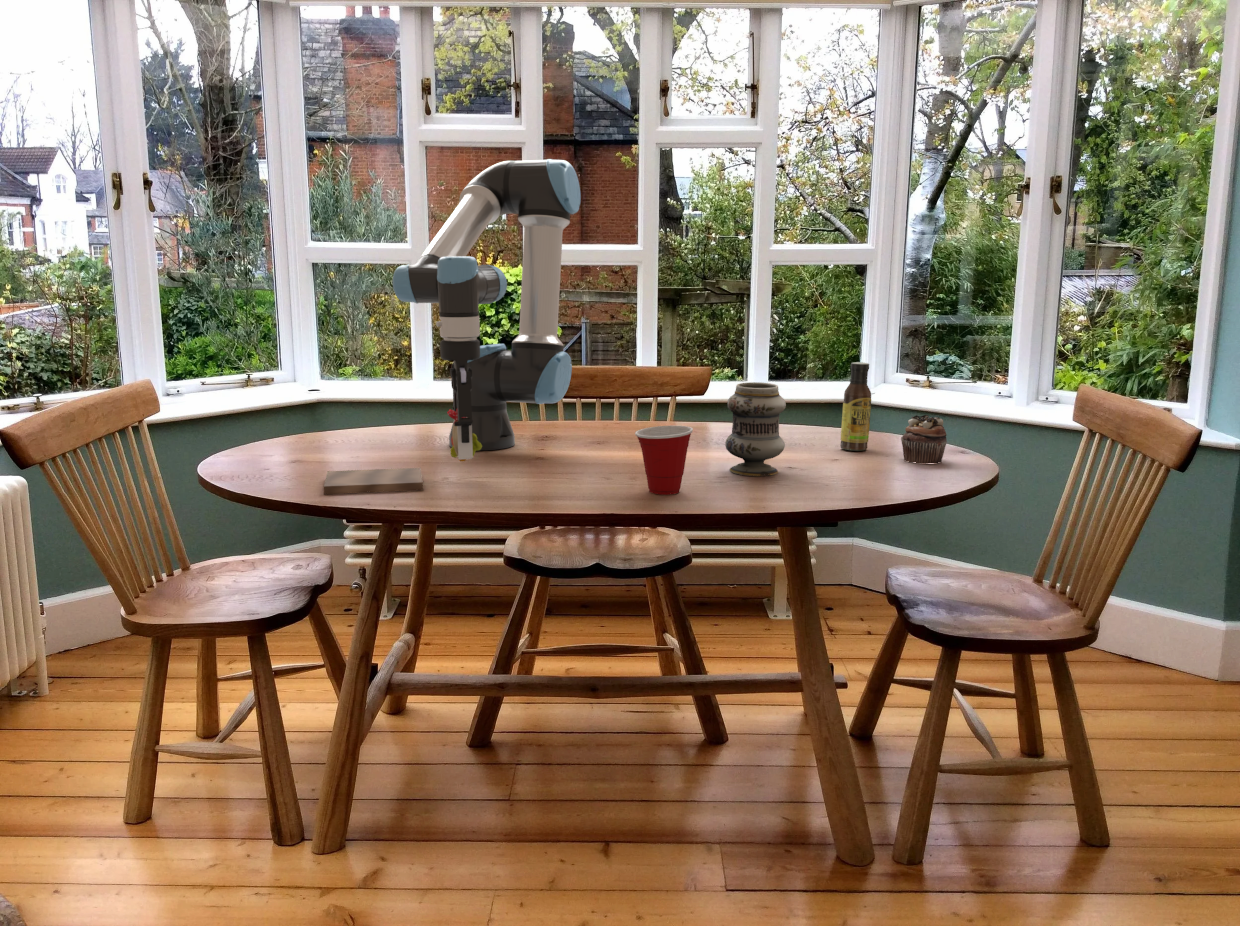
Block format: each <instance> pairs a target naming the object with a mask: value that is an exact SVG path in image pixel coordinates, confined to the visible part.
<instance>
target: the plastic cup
mask: <svg viewBox="0 0 1240 926" xmlns="http://www.w3.org/2000/svg"><path fill="white" fill-rule="evenodd" d="M692 433H693V427H691V426H686V425H658V426H650V427H646V428H645V427H644V428H642V429H639V430H636V431H635V433H634V435H635V436H636V437H637V439H638V442H639V444H640V448H641V453H642V459H643V465H644V466H643V467H644V469H645V470H644V471H645V475H646V483H647V487H648V491H649V493H650V494H655V495H663V496H664V495H665V496H668V495H675V494H678V493H680V489H681V487H682V481H683V475H684V472H685V466H686V460H687V454H688V448H689V445H690V444H689V443H690V439H691V435H692Z"/></svg>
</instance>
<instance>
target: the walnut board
mask: <svg viewBox="0 0 1240 926" xmlns="http://www.w3.org/2000/svg"><path fill="white" fill-rule="evenodd" d="M422 474H423V473H422V469H421V467H405V468H402V467H401V468H378V469H377V468H376V469H355V470H353V469H352V470H349V469H348V470H329V471H327V473H326V476H325V480H324V484H323V495H340V494H341V495H343V494H344V493H345V494H364V493H365V494H366V493H367V494H368V492H369V493H388V492H410V491H411V492H412V491H413V492H414V491H424V481H423V475H422Z"/></svg>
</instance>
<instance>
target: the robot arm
mask: <svg viewBox="0 0 1240 926" xmlns="http://www.w3.org/2000/svg"><path fill="white" fill-rule="evenodd" d="M581 194H582V193H581V186H580V182H579V178H578V175H577V172H576V170H575V168H574V167H573V165H572V164H571V163H570V162H569V161H567V160H565V159H553V158H547V159H529V160H527V159H526V160H504V161H499V162H497V163H495V164H493V165H490V166H489V167H487V168H486V169H484V170H483V171H481V172H480V173H479V174H477V175H476V176H474V177H473V178H472V179H471V180H470V181H469V182H468V184H467V185H466V186H465V187H464V189H462V191H461V192H460V195H459V199H458V200H459V203H458V204H457V206H456V207H455V209H454V210H453V212H451V213H450V215H449V217H448V218H447V220H446V221H445V222H444V224H443V225H442V227H440V229H439V231H438V232H437V233H436V235H435V236H434V237H433V238H432V240H431V242H430V243H429V244H428V245H427V247H426V248H425V250H424V251H423V252H422V253H421V255H420V256H419V258H418V259H417V260H416V262H415V263H414V264H412V263H408V264H402V265H400V266H397V267H396V269H395V270H394V272H393V276H392V289H393V291H394V293H395V294H394V295H395V296H396V297H397V299H398V300H399V301H400V302H403V303H415V304H438V315H439V318H438V319H439V321H436V322H435V326H437V327H440V328H439V336H440V337H441V338H443V339H441V340H440V342H439V349H440V350H439V352H440V358H441V359H442V360H444V361H451V362H452V361H453V363H452V364H451V368H449V373H450V378H451V383H450V384H451V389H452V400H453V401H452V403H453V404H452V405H453V406H452V410H453V411H455V412H456V409H457V413H458V422H454V421H455V420H454V419H453V422H452V425H451V428H450V431H449V435H448V445H449V447H450V448H452V447H453V445H452V442H451V438H452V431H453V424H454V426H457V434H458V457H457V459H458V461H459V460H461V459H466V460H473V459H474V456H473V446H472V433H474V434H475V435H476V436H477V441H478V442H480V443H481V445H482V448H481V450H480V451H495V450H502V449H507V448H511V447H514V446H515V444H516V442H515V441H516V439H515V433H514V429H513V427H512V424H511V421H510V418H509V414H508V411H507V410H508V409H507V408H508V407H507V402H508V403H509V402H511V403H525V404H526V403H528V404H537V405H544V404H556V403H559V402H560V401H561V400H562V399H563V398H564V396H565V395H566V393H567V391H568V389H569V386H570V382H571V380H572V379H571V378H572V371H573V365H572V358H571V356H570V355H569V354H568V352H566V351H564V343H563V342H562V340H560V339H559V337H558V327H559V311H560V309H559V308H560V293H561V291H560V289H561V287H560V286H561V270H562V269H561V268H562V252H563V250H562V248H563V231H564V229H565V228H567V227H568V226H569V225H570V223H571V215H575V214H576V213H579V210H580V206H581V201H582V200H581V198H582V196H581ZM512 214H513V215H514V214H515V215H517V221H518V222H519V223H520V224H521V226H523V228H524V230H523V231H524V233H523V248H522V249H523V251H522V252H523V253H522V268H521V269H522V272H521V289H520V290H521V292H520V294H521V295H520V308H519V309H520V311H519V330H518V331H519V332H518V333H519V334H517V336H516V337H515V338H514V339H513V340H512V342H511V350H507V346H506V344H505V343H495V344H494V343H492V344H486V345H485V344H484V345H481V343H480V342H481V341H480V340H479V339H478V338H479V337H480V335H481V334H480V333H481V332H480V331H481V329H480V328H481V326H480V324H481V323H480V313H479V310H480V309H479V308H480V307H479V305H485V304H486V305H490V304H492V303H495V302H498V301H499V300H501V299H502V298H503V297H504V296H505V294H506V291H507V288H508V283H507V282H508V280H507V277H506V275H505V273H504V271H502V270H501V269H500V268H499V267H497V266H495V265H490V264H481V265H478V261H477V258H475V257H474V256H468V254H469V252H470V251H471V249H472V248H473V246H474V245H475V243H476V242H477V240H478V239H479V238H480V236H481V235H482V233H483V232H484V231H485V229H486V228H487V226H488V225H490V224H493V223H494V222H496V220H498V219H499V217H500V216H503V215H512ZM462 417H466V418H462Z"/></svg>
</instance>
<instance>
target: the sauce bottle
mask: <svg viewBox="0 0 1240 926" xmlns="http://www.w3.org/2000/svg"><path fill="white" fill-rule="evenodd" d="M869 369H870V363H869V362H863V361H856V362H851V363H850V379H849V384H848V386H847V387H846V389H845V391H844V393H843V394H844V395H843V403H842V415H841V416H842V417H841V429H840V449H842V450H845V451H852V452H855V451H856V452H863V451H867V449H868V443H869V437H870V436H869V435H870V423H871V422H870V421H871V409H872V392H871V389H870V388H869V386H868V377H869V375H868V374H869Z"/></svg>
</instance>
